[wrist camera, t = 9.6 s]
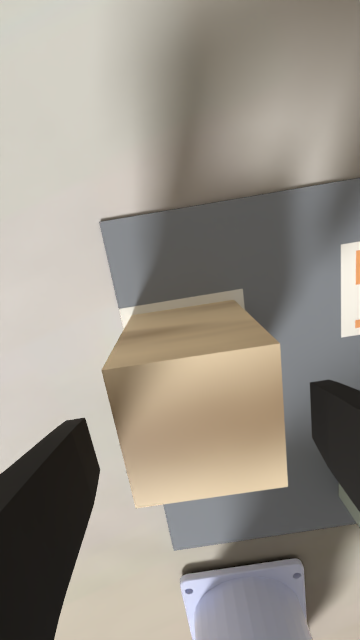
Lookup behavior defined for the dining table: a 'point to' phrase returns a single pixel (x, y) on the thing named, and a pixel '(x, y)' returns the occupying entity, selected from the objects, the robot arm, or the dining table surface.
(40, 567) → the robot arm
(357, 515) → the sage block
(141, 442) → the maple block
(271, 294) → the slate mat
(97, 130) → the dining table surface
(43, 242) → the dining table surface
